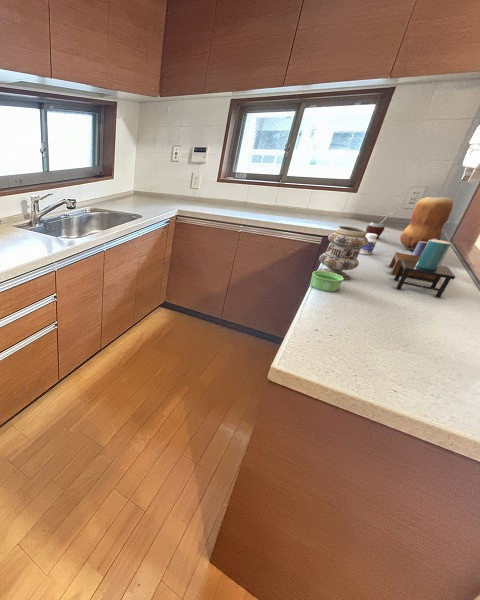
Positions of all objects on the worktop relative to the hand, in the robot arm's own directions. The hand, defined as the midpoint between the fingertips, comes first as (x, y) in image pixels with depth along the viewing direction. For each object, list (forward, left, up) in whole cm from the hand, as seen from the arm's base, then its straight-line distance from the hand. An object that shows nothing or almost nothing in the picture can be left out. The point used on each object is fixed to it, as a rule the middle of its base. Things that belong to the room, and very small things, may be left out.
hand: (467, 181), depth 116 cm
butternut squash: (-1, -35, -34) cm, 49 cm away
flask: (-2, -13, -34) cm, 37 cm away
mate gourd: (+14, -51, -34) cm, 63 cm away
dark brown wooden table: (+4, +26, -34) cm, 43 cm away
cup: (+4, +26, -26) cm, 37 cm away
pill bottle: (+18, -14, -34) cm, 41 cm away
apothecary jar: (+28, +30, -34) cm, 53 cm away
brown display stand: (+4, +8, -34) cm, 35 cm away
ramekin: (+30, +47, -34) cm, 65 cm away
